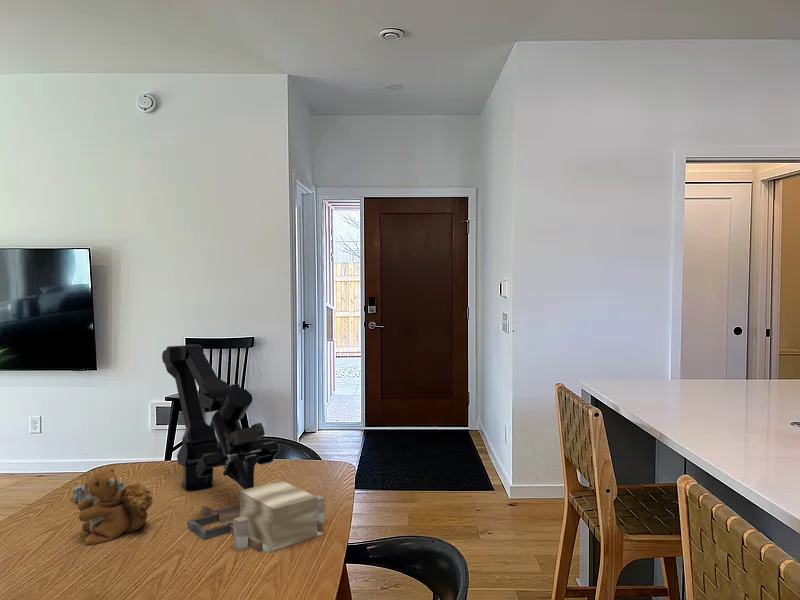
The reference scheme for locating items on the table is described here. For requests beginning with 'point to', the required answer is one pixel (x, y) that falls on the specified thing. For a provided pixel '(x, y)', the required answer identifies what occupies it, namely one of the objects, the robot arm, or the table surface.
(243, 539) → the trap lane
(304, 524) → the maple block
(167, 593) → the table surface
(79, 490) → the egg carton
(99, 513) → the stuffed squirrel
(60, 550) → the table surface
